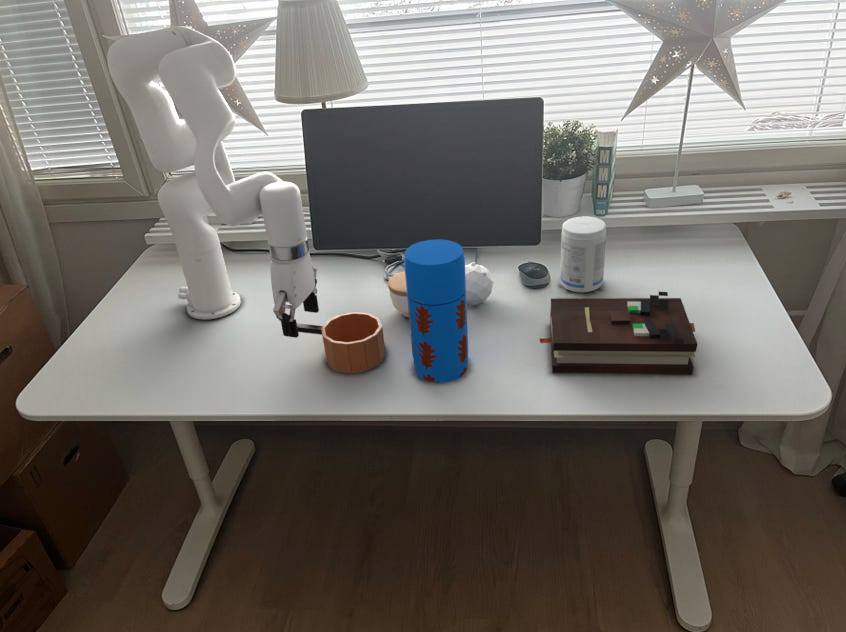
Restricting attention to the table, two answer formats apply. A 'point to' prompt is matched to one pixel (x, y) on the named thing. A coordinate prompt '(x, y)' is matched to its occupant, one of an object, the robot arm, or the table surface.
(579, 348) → the decorative book
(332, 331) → the copper saucepan
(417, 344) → the thermos
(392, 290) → the trinket box
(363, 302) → the table surface
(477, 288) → the decorative ball
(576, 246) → the supplement tub
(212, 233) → the robot arm
